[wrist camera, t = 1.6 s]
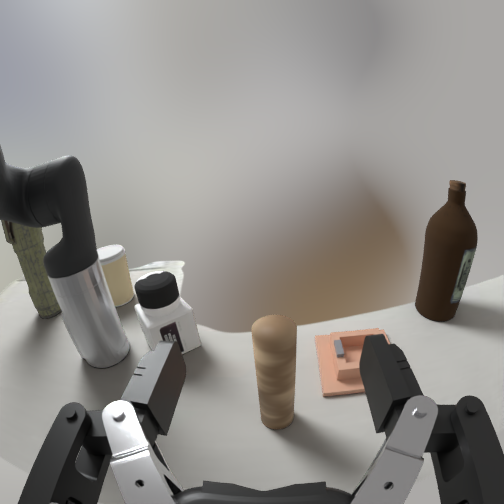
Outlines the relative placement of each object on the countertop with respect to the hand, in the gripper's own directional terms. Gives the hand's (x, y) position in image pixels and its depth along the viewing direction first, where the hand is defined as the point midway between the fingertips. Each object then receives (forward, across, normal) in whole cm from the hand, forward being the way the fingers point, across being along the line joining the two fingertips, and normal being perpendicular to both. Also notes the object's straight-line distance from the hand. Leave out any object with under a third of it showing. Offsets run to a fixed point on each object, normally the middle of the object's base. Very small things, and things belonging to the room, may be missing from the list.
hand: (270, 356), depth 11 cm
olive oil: (+31, -32, +22) cm, 50 cm away
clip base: (+20, -12, +22) cm, 32 cm away
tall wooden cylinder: (+11, 0, +22) cm, 25 cm away
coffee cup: (+40, +37, +22) cm, 58 cm away
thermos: (+33, +56, +22) cm, 68 cm away
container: (+25, +18, +22) cm, 38 cm away
